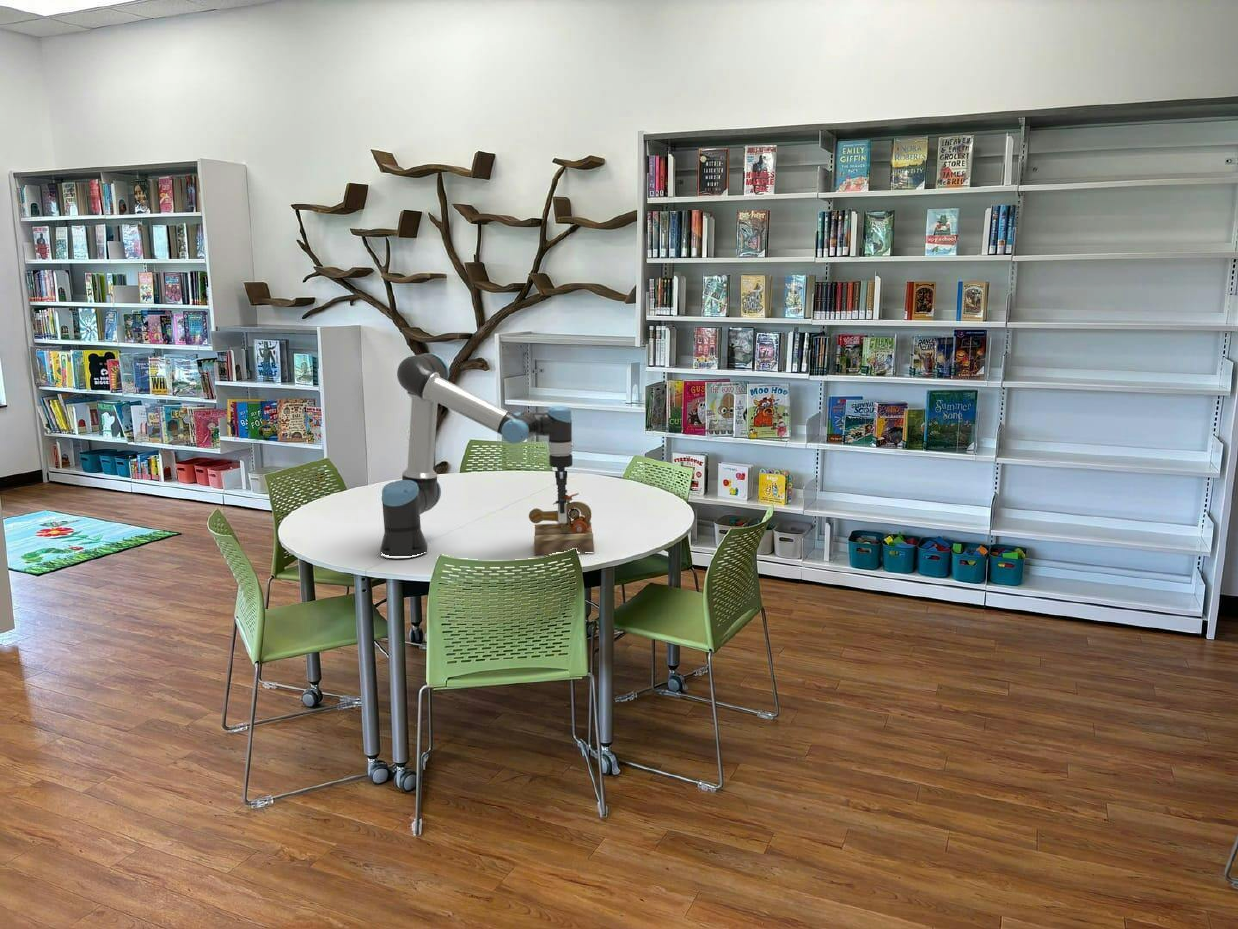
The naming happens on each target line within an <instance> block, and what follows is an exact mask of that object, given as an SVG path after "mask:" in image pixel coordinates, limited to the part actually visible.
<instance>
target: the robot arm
mask: <svg viewBox="0 0 1238 929" xmlns="http://www.w3.org/2000/svg"><path fill="white" fill-rule="evenodd" d="M396 377H397V381H398V383H399V384H400V386H401V387H402V388H403V390H406V392H407V395H408V396H409V397H410V399H411V403H410V404H411V406H410V417H409V418H410V420H409V421H410V423H409V437H408V438H409V439H408V454H407V455H408V456H407V467H406V469H405V470H403V471H402V474H401V476H402V477H401V479H399V480H395V481H392V482H389V483H387V484H385V485H384V486H383V488H382V489H381V502H382V516H383V526H384V527H383V528H384V532H383V537H382V541H381V545H380V548H379V549H380V550H379V551H380V553H381V552H382V553H383V554H385V555H389V556H412V555H417V554H421V553H424V552H427V550H428V543H427V540H426V539H425V536H424V533H423V531H422V526H421V515H422V514H423V513H425V512H429V511H430V510H432V509H433V508H434V507H435V506H436V505H437V504H438V502H439V501H440V499H441V495H442V490H441V489H442V488H441V485H440V483H439V482H438V473H437V472H436V471H435V470H434V464H435V462H434V460H435V450H436V449H435V448H436V437H437V436H436V435H437V430H436V429H437V418H438V405H439V404H440V405H441V406H444V407H445V408H447V409H449V410H450V411H453V412H455V413H458V414H460V415H461V416H463V417H465V418H467V419H468V420H471V421H473V422H475V423H477V424H480V425H481V426H483V427H485V428H487V429H489V430H490V431H493V432H494V433H497V434H499V435H501V437H502V438H503V439H504V441H505V442H507V443H509V444H512V445H514V444H519V443H523V442H525V441H526V440H527V439H529V438H531V437H534V436H535V437H537V436H538V437H539V436H540V437H542V436H543V437H548V454H549V456H548V458H549V459H548V460H549V461H548V462H549V464H548V465H549V466H550V468H556V470H555V471H554V476H555V477H554V478H555V485H556V486H557V490H556V492H557V500H555V502H556V504H555V505H557V511H558V522H557V523H567V513H566V504H567V503H566V495H567V493H568V489H566V487H567V486H566V485H568V481H567V480H568V479H567V478H568V470H565V468H569V467H572V466H573V455H572V453H573V447H574V446H575V445H574V443H573V442H572V441H573V438H572V437H573V436H572V435H573V432H572V431H573V430H572V429H573V426H572V425H573V424H572V422H573V420H572V410H571V408H570V407H569V406H565V405H563V406H562V405H555V406H553V405H552V406H550V407H548V409H547V412H526V411H523V412H522V411H520V412H515V413H513V412H512V413H511V412H509V411H508V410H506V409H504V408H502V407H500V406H498V405H496V404H494V403H492V402H490V401H488V400H487V399H484V398H482V397H481V396H479V395H477V394H475V393H472V392H471V391H468V390H466V389H465V388H463V387H461V386H458V385H456V384H454V383H453V382H451V381H449V377H450V369H449V366H448V363H447V362H446V360H445V359H444V358H443V357H442V356H440V355H439V354H436V353H432V352H431V353H429V352H427V353H426V352H425V353H421V354H416V355H411V356H408V357H406V358H404V359H402V361H401V362H400V363H399V365H398V367H397V371H396ZM428 551H429V550H428ZM427 553H428V552H427Z"/></svg>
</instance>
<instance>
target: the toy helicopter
mask: <svg viewBox="0 0 1238 929" xmlns="http://www.w3.org/2000/svg"><path fill="white" fill-rule="evenodd" d="M578 495H579V492H577V493H574V494H571V495H569V494H566V513H567V523H559V525H560V526H561V532H562V533H564V534H566V533H567V532H569V531H571V532H574V534H585V533H586V532H587V529H588V528H589V526H590V522H591V521H592V520H591V519H592V510H591V508H590V506H589V505H588V504H587V503H584V502H582V501H572V500H573V497H577V496H578ZM552 505H557V504H556V501H555V502H554V503H552ZM528 520H529V521H530V522H531V523H533V524H541V523H542V521H543V522H544V521H545V522H548V521H549V522H557V523H558V510H545V511H544V510H542V509H540V508H538V507H537V508H534V509H532V510H530V511H529V513H528Z"/></svg>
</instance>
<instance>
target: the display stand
mask: <svg viewBox="0 0 1238 929" xmlns="http://www.w3.org/2000/svg"><path fill="white" fill-rule="evenodd" d="M592 529H593V528H592V522H591V521H590V526H589V528H588V529H587V532H586V533H585V534H574V532H571V531H569V532H567V533H566V534H564V533H562V532H561V526H560V525H559V523H558V522H557V523H534V536H533V540H534V546H533V547H534V557H539V556H541V557H542V556H544V557H545V555H547V556H550V555H549V554H552V553H556V552H564V551H568V550H570V549H572V548H577V551H578V552H580V553H585V552H594V553H595V550H594V546H595V545H594V533H593V530H592Z"/></svg>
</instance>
